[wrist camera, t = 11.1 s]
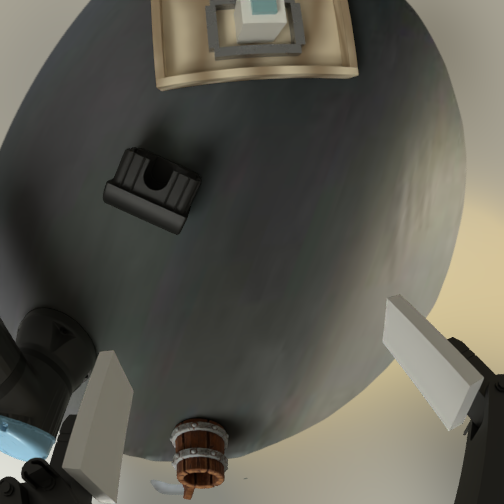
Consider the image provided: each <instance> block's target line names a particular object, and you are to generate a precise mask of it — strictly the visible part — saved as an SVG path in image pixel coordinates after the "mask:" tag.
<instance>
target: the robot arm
mask: <svg viewBox="0 0 504 504" xmlns="http://www.w3.org/2000/svg"><path fill="white" fill-rule="evenodd" d="M383 343H384V345H385V346H386V347H387V349H388V350H389V351H390V352H391V354H392V355H393V356H394V358H395V359H396V360H397V361H398V363H399V364H400V365H401V367H402V368H403V369H404V371H405V372H406V373H407V375H408V376H409V377H410V379H411V380H412V381H413V383H414V384H415V385H416V387H417V388H418V389H419V391H420V392H421V393H422V395H423V396H424V398H425V399H426V400H427V402H428V403H429V404H430V406H431V407H432V408H433V410H434V411H435V413H436V414H437V415H438V417H439V418H440V419H441V421H442V422H443V424H444V425H445V426H446V428H447V429H448V431H450V430H452V429H453V428H455V427H457V426H459V425H461V424H463V422H464V420H465V418H466V416H467V415H468V416H469V417H470V419H471V420H470V422H469V424H468V426H467V428H466V430H465V431H464V434H463V435H466V433H467V432H468V436H467V443H466V450H465V456H464V461H463V467H462V472H461V477H460V482H459V486H458V490H457V494H456V499H455V503H454V504H504V374H498V375H495V374H494V373H493V372H492V371H491V370H490V369H489V368H488V367H487V366H486V365H485V364H484V363H483V362H482V361H481V360H480V359H479V358H478V357H477V356H475V354H474V353H473V352H472V351H471V350H469V348H468V347H467V346H466V345H465V344H464V343H463V342H462V341H460V340H458V339H456V338H454V337H452V338H449V339H446V338H445V337H444V336H443V335H442V334H441V333H440V332H439V331H438V330H437V329H436V328H435V327H434V326H433V325H432V324H431V323H429V321H428V320H426V319H425V318H424V317H423V316H422V315H421V314H420V313H419V312H418V311H417V310H416V309H415V308H414V307H413V306H412V305H411V304H410V303H409V302H408V301H406V300H405V299H404V298H403V297H402V296H401V295H400V294H399V295H396V296H392V297H389V298H387V303H386V314H385V324H384V333H383ZM91 373H92V374H91ZM90 375H91V376H90ZM89 377H90V379H89V382H88V385H87V388H86V390H85V393H84V396H83V399H82V402H81V405H80V408H79V411H78V414H77V415H69V416H68V417H67V418H66V420H65V421H64V422H63V424H62V427H61V430H60V435H59V436H58V439H57V443H56V445H55V448H54V451H53V455H52V458H51V462H50V465H49V464H48V463H47V462H46V461H45V459H46V458H47V457H48V455H49V453H50V450H51V448H52V446H53V444H54V443H55V441H56V436H57V434H58V431H59V428H60V425H61V422H62V419H63V416H64V413H65V411H66V408H67V405H68V402H69V400H70V397H71V395H72V393H73V392H74V391H75V390H76V389H77V388H78V387H80V385H81V384H82V383H84V382H85V381H86V380H87V379H88V378H89ZM133 392H134V391H133V389H132V387H131V385H130V383H129V381H128V379H127V377H126V375H125V373H124V371H123V369H122V367H121V365H120V363H119V360H118V358H117V356H116V354H115V352H114V350H112V351H102V352H99V355H98V358H97V360H96V352H95V348H94V345H93V343H92V341H91V339H90V337H89V336H88V334H87V333H86V332H85V330H84V329H83V328H82V327H81V326H80V325H79V324H78V323H77V322H75V321H74V320H73V319H72V318H70V317H69V316H67V315H65V314H63V313H61V312H59V311H56V310H53V309H48V308H39V309H35V310H33V311H31V312H29V313H28V314H27V315H26V316H25V318H24V319H23V320H22V322H21V323H20V325H19V327H18V331H17V338H16V342H15V341H14V340H13V338H12V336H11V335H10V333H9V332H8V330H7V328H6V326H5V325H4V323H3V321H2V319H1V318H0V451H1V452H3V453H5V454H7V455H9V456H11V457H14V458H16V459H19V460H23V461H26V463H25V464H24V466H23V467H22V472H21V475H22V479H23V480H24V481H25V483H19V482H18V481H17V480H16V479H15V478H13V477H5V478H3V479H1V480H0V504H92V503H91V501H92V496H93V497H94V498H95V499H97V500H98V501H99V502H105V503H117V494H118V485H119V477H120V469H121V462H122V455H123V449H124V443H125V437H126V430H127V425H128V419H129V413H130V408H131V403H132V397H133Z"/></svg>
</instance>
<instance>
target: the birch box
mask: <svg viewBox="0 0 504 504" xmlns="http://www.w3.org/2000/svg"><path fill="white" fill-rule="evenodd" d="M295 3H300V7H301V14H302V21H303V28H304V35H305V43H306V44H305V45H304V46H303V47H302V48H301V49H302V53H301V54H300V55H299V56H286V57H256V58H241V59H228V60H218V61H215V56H214V52H210V53H209V46H208V35H207V24H206V13H205V6H210V0H151V14H152V33H153V49H154V62H155V74H156V86H157V88H158V89H159V90H161V91H166V90H171V89H177V88H184V87H191V86H198V85H205V84H214V83H223V82H233V81H244V80H259V79H279V78H340V79H348V78H351V77H355V76H358V75H359V74H358V66H357V58H356V50H355V43H354V36H353V30H352V23H351V17H350V12H349V6H348V1H347V0H295ZM234 11H235V9H229V10H217V11H216V18H217V28H218V38H219V47H230V46H243V45H262V44H291V36H290V28H289V21H288V14H287V8H285V12H286V19H287V23H286V25H285V26H284V27H283V29H282V30H281V31H280V33H279V34H278V36H277V37H276V38H275V40H274V41H273V42H271V43H247V44H237V40H236V31H235V21H234Z"/></svg>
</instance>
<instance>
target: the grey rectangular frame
mask: <svg viewBox="0 0 504 504" xmlns="http://www.w3.org/2000/svg"><path fill="white" fill-rule="evenodd" d="M236 1H237V0H210V6H205V13H206V24H207V35H208V46H209V53H210V52H214V56H215V61H218V60H228V59H241V58H256V57H286V56H299V55H300V54H301V53H302V49H301V48H302V47H303V46H304V45H305V44H306V43H305V35H304V28H303V21H302V14H301V7H300V3H295V0H284V5H285V8H287V14H288V21H289V28H290V36H291V44H262V45H243V46H230V47H219V38H218V28H217V18H216V11H217V10H229V9H235V6H236Z"/></svg>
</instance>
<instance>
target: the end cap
mask: <svg viewBox="0 0 504 504" xmlns="http://www.w3.org/2000/svg"><path fill="white" fill-rule="evenodd" d="M200 184H201V177H200V176H199V174H197V173H195V172H193V171H191V170H189V169H187V168H185V167H182V166H180V165H178V164H176V163H174V162H171V161H169V160H167V159H165V158H162V157H160V156H158V155H156V154H154V153H151V152H149V151H147V150H144V149H142V148H136V147H133V148H131V149H130V148H129V149H126V150H125V152H124V155H123V157H122V159H121V162H120V164H119V167H118V169H117V171H116V174H115V176H114V178H113V179H111V180H109V181H107V183H106V186H105V189H104V193H103V201H104V202H105V203H107V204H109V205H111V206H114V207H116V208H118V209H120V210H122V211H125V212H127V213H129V214H131V215H133V216H136V217H138V218H140V219H142V220H145V221H147V222H149V223H151V224H153V225H156V226H158V227H160V228H162V229H165V230H167V231H169V232H171V233H174V234H176V235H178V234H180V232H181V230H182V228H183V226H184V224H185V222H186V220H187V218H188V214H189V211H190V207H191V206H190V205H191V203H192V201H193V199H194V197H195V195H196V192H197V190H198V188H199V186H200Z"/></svg>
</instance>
